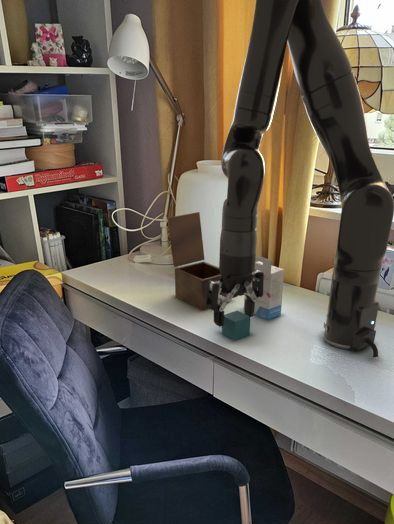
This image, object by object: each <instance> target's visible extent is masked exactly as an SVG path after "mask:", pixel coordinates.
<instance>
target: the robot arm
mask: <svg viewBox="0 0 394 524" xmlns="http://www.w3.org/2000/svg"><path fill="white" fill-rule="evenodd" d="M323 3H324V2H323V0H255V6H254V7H255V8H254V13H253V20H252V26H251V32H250V37H249V40H248V45H247V51H246V55H245V59H244V63H243V68H242V72H241V77H240V81H239V86H238V91H237V94H236V100H235V107H234V110H233V118H232V121H231V125H230V127H229V130H228V133H227V136H226V139H225V142H224V146H223V149H222V154H221V160H220V162H221V164H220V165H221V170H222V172H223V174H224V176H225V177H226V179H227V191H226V198H225V199H224V201H223V205H222V209H221V210H222V213H221V231H220V236H219V237H220V238H219V257H218V258H219V259H218V260H219V261H218V262H219V263H218V267H219V270H220V273H221V277H220V280H219V281H216V282H213V281H211V280H210V281H208V283H207V297H206V307H208V309H210V310H211V311H213V323H214V324H215V325H216V326H217V327H219V328H222V326H223V325H224V315H225V311H224V310H225V309H226V307H227V305H228V304H230V303H231V302H232V300H233V299H235V298H237V297H242V296H243V297H244V296H245V297H246V298H247V299H246V300H245V309H244V308H243V313H244V314H246V315H248V316H250V317H251V318H253V317H254V315H255V314H254V307H255V301H256V300H257V298H258V297H262V296H263V283H264V273H263V272H261V271H259V270H256V269H255V262H256V261H257V260H256V256H257V245H258V235H257V228H258V227H257V225H258V213H259V212H258V211H259V210H258V207H259V203H260V199H261V195H262V190H263V186H264V181H265V174H266V173H265V172H266V166H265V160H264V157H263V155H262V154H261V152H260V151H259V149H260V146H261V142H262V139H263V135H264V134H265V133H266V132H267V131H268V130H269V128H270V126H271V123H272V121H273V116H274V112H275V108H276V104H277V100H278V99H277V98H278V94H279V89H280V84H281V79H282V73H283V69H284V68H283V67H284V61H285V55H286V49H287V48H288V52H289V54H290V55H289V56H290V61H291V64H292V69H293V72H294V76H295V80H296V83H297V87H298V91H299V94H300V97H301V100H302V103H303V105H304V108H305V111H306V114H307V116H308V120H309V121H310V124H311V126H312V128H313V130H314V133H315V135H316V137H317V139H318V141H319V143H320V145H321V146H322V148H323V150H324V152H325V153H326V155H327V157H328V159H329V162H330V164H331V166H332V169H333V172H334V175H335V176H334V177H335V180H336V184H337V188H338V193H339V198H340V207H341V211H340V219H339V226H338V235H337V242H336V246H335V252H334V259H333V260H334V261H333V268H332V276H331V283H330V290H329V296H328V305H327V312H326V320H325V321H323V328H324V332H323V340H324V342H326V343H327V344H328V345H330V346H332V347H335V348H339V349H343V350H350V351H353V352H356V351H358V350H362V349H363V348H366V347H370V348H371V350H372V358H378V357H379V349H378V346H377V345H376V344H375V339H376V334H377V330H375V328H376V323H377V317H378V314H379V313H378V312H379V307H380V302H378V301H376V299H377V293H378V290H379V289H378V287H379V283H380V279H381V272H382V267H383V262H384V258H385V256H386V253H387V250H388V246H389V245H388V244H389V240H390V235H391V231H392V226H393V220H394V197H393V194H392V192H391V191H390V189H389V187H388V186H387V184H386V183H385V181H384V178H383V176H382V174H381V172H380V170H379V168H378V165H377V163H376V161H375V158H374V156H373V153H372V150H371V146H370V141H369V136H368V130H367V122H366V116H365V115H366V114H365V109H364V106H363V101H362V96H361V94H360V93H361V92H360V90H359V87H358V82H357V80H356V77H355V73H354V70H353V67H352V64H351V62H350V60H349V57H348V55H347V53H346V51H345V48H344V47H343V45H342V43H341V40H340V39H339V38H338V35H337V33H336V32H335V30H334V28H333V26H332V25H331V23H330V21H329V18H328V15H327V13H326V11H325V7H324V4H323ZM287 46H288V47H287ZM251 282H252V288H251V286H250V284H251ZM220 287H221V288H220ZM257 287H258V290H257ZM224 293H225V294H226V295H227V296H226V297H224V296H223V294H224ZM221 301H222V302H221ZM220 302H221V304H220ZM219 304H220V305H219Z"/></svg>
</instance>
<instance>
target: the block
mask: <svg viewBox="0 0 394 524" xmlns="http://www.w3.org/2000/svg"><path fill="white" fill-rule="evenodd" d="M251 319H252V317H250V316H248V315H246V314H244V312H242V311H239V310H234V311H231V312H229V313H224V325H223V326H222V327H221V334H222V335H223V336H226V337H228V338H229V339H231V340H233V341H237V340H240V339H242V338H243V339H244V338H246V337H249V336H250V335H251Z"/></svg>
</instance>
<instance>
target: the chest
mask: <svg viewBox="0 0 394 524" xmlns="http://www.w3.org/2000/svg"><path fill="white" fill-rule="evenodd" d="M220 277H221V273H220V270H219V266H217V265H214V264H211V263H210V262H207V261H205V260H202V261H198V262H194V263H190V264H186V265H182V266H178V267H175V268H174V285H175V286H174V289H175V290H174V291H175V298H178V299H179V300H181V301H183V302H185V303H187V304H189V305H191V306H193V307H195V308H197V309H199V310H201V311H204V310H207V309H209V308H208V307H206V297H207V283H208V281H210V280H211V281H213V282H216V281H219V280H220ZM220 288H221V287H220ZM223 296H224V297H226V296H227V295H226V294H225V293H224V294H223ZM221 302H222V301H221ZM221 302H220V304H221ZM220 304H219V305H220Z"/></svg>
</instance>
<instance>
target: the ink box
mask: <svg viewBox="0 0 394 524" xmlns="http://www.w3.org/2000/svg"><path fill="white" fill-rule="evenodd" d="M255 269H256V270H259V271H261V272H263V273H264V283H263V296H262V297H258V298H257V300H256V301H255V307H254V314H253V315H255V316H258V317H259V318H262V319H264V320H266V321H269V320H272V319H274V318H276V317H278V316H281V315H282V303H283V293H284V292H283V291H284V278H285V269H284V268H281V267H277V266H274V265H273V260H271V259H269V258H266V257H263V256H260V255H256V260H255ZM250 286H251V288H252V282H251V284H250ZM257 290H258V287H257ZM243 297H244V298H243V310H244V309H245V300H246V299H247V298H246V297H245V296H244V295H243Z"/></svg>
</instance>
